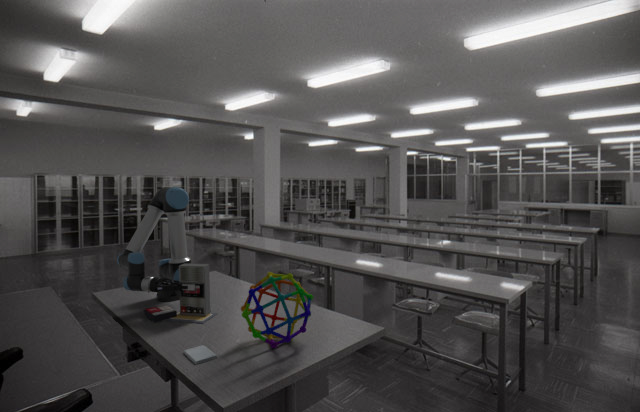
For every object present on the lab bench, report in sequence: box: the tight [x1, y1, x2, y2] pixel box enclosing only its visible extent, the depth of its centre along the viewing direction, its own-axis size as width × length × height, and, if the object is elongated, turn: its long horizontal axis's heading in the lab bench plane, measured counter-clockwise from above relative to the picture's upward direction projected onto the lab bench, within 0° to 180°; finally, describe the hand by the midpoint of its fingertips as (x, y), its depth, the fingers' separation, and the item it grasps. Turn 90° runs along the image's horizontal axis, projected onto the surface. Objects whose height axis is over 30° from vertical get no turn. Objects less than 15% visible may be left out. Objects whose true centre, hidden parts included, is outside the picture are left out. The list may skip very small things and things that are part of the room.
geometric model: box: [240, 271, 314, 349], centre depth 151 cm, size 30×30×30 cm
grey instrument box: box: [179, 263, 212, 316], centre depth 184 cm, size 14×6×25 cm, turn 82°
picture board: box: [164, 310, 218, 324], centre depth 183 cm, size 14×21×1 cm, turn 78°
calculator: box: [143, 304, 178, 324], centre depth 184 cm, size 11×4×15 cm
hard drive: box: [183, 344, 218, 365], centre depth 140 cm, size 2×8×12 cm
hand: (195, 287), depth 181 cm, fingers open, 1 cm apart
